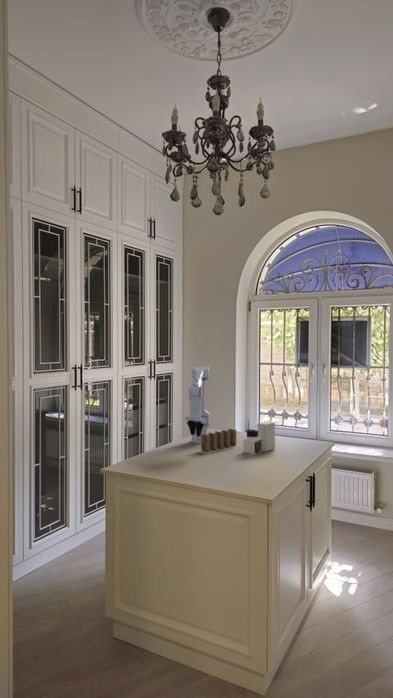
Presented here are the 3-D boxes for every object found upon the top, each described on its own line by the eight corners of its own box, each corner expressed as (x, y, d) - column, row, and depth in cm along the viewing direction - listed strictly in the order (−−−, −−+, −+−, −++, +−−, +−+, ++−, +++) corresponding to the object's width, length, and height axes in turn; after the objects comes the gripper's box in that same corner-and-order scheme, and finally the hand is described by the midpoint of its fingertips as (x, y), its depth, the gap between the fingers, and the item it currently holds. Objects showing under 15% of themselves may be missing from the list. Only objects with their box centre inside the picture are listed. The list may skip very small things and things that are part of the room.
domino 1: (208, 449, 249) (208, 432, 248) (210, 448, 250) (210, 432, 249) (214, 450, 245) (214, 434, 244) (216, 450, 246) (216, 433, 246)
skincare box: (267, 447, 254) (267, 420, 253) (275, 449, 249) (275, 422, 248) (256, 449, 248) (256, 422, 248) (265, 451, 244) (265, 424, 243)
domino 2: (215, 447, 252) (215, 431, 252) (217, 447, 253) (217, 431, 253) (221, 449, 248) (221, 432, 248) (223, 448, 249) (223, 432, 249)
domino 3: (221, 446, 255) (221, 430, 255) (223, 445, 256) (223, 429, 256) (227, 447, 251) (227, 431, 251) (230, 447, 252) (229, 431, 252)
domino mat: (196, 451, 245) (196, 450, 245) (230, 443, 262) (230, 443, 262) (206, 454, 239) (206, 453, 239) (241, 446, 256) (241, 445, 256)
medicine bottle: (254, 454, 238) (254, 431, 237) (243, 452, 242) (243, 430, 242) (261, 452, 244) (261, 429, 243) (250, 450, 248) (250, 427, 247)
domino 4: (227, 444, 258) (227, 428, 258) (229, 444, 259) (229, 428, 259) (234, 446, 255) (234, 430, 254) (236, 445, 256) (236, 429, 255)
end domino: (201, 450, 245) (201, 434, 245) (203, 450, 246) (203, 433, 246) (207, 452, 241) (207, 435, 241) (209, 452, 242) (209, 435, 242)
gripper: (180, 408, 241) (180, 434, 242) (198, 412, 230) (199, 438, 231) (191, 407, 246) (191, 432, 246) (209, 410, 235) (209, 436, 236)
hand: (195, 435), depth 239 cm, fingers open, 4 cm apart
